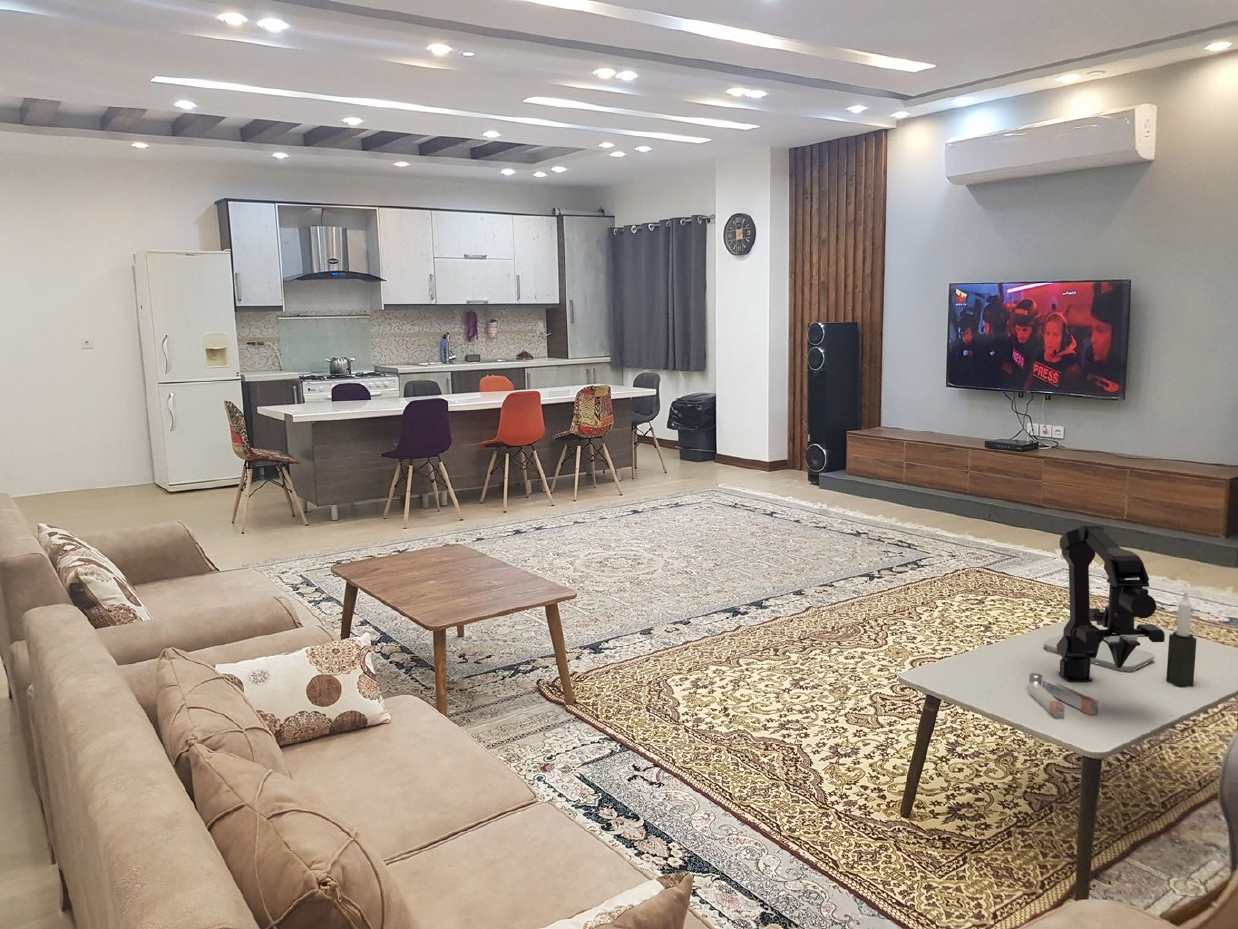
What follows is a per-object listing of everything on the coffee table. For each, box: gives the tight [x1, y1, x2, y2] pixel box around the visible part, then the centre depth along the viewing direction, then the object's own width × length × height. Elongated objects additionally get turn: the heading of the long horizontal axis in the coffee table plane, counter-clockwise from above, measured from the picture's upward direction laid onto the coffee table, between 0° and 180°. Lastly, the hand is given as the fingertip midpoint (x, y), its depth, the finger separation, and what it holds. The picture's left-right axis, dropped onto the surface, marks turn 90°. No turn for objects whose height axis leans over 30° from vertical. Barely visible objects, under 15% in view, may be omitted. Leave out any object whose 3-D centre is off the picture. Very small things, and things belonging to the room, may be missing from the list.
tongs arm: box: [1042, 678, 1099, 716], centre depth 239 cm, size 16×2×3 cm, turn 19°
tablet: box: [1043, 633, 1155, 672], centre depth 272 cm, size 16×26×2 cm, turn 35°
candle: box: [1166, 591, 1198, 688], centre depth 248 cm, size 5×5×25 cm
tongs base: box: [1028, 672, 1065, 719], centre depth 239 cm, size 20×4×4 cm, turn 179°
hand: (1118, 667), depth 231 cm, fingers closed
